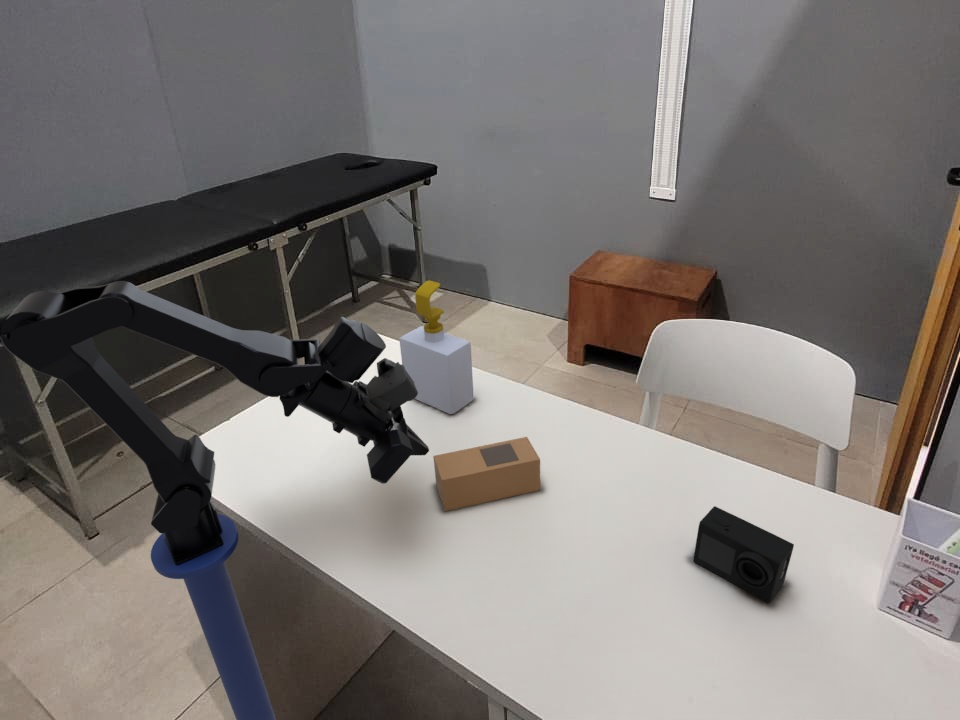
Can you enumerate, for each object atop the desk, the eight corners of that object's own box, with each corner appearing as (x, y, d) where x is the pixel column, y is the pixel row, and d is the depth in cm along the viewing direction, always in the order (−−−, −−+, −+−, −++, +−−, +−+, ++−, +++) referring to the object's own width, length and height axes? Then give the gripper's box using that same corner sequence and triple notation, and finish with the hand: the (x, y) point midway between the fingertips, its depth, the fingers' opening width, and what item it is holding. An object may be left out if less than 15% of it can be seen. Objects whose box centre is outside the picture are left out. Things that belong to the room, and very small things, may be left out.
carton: (441, 479, 93) (540, 458, 96) (433, 455, 98) (527, 436, 101) (444, 511, 96) (540, 490, 99) (436, 486, 101) (527, 466, 104)
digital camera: (687, 566, 85) (693, 526, 82) (707, 543, 89) (714, 504, 85) (765, 610, 79) (775, 569, 75) (783, 583, 82) (794, 543, 79)
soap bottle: (475, 400, 122) (469, 285, 111) (452, 416, 118) (443, 298, 106) (427, 381, 129) (417, 270, 118) (404, 395, 125) (391, 282, 113)
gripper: (386, 393, 77) (480, 449, 84) (367, 326, 92) (447, 379, 100) (329, 459, 79) (426, 508, 87) (320, 383, 95) (402, 430, 102)
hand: (427, 451), depth 94 cm, fingers closed
